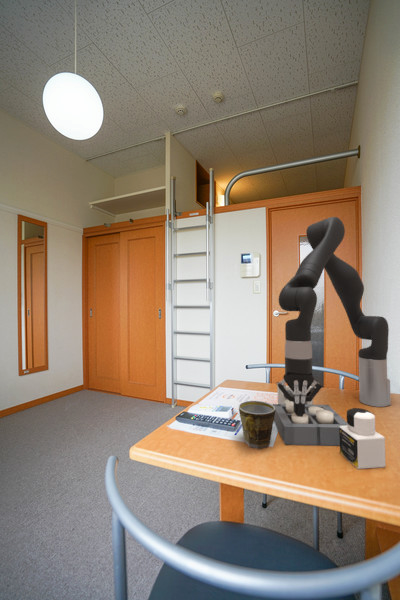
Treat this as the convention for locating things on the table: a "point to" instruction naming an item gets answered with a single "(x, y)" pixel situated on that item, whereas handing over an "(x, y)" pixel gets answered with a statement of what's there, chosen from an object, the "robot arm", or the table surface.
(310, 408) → the button
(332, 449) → the table surface
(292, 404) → the button
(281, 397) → the card
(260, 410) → the ceramic cup
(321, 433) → the board
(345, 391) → the table surface
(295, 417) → the button
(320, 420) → the button
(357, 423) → the medicine bottle
